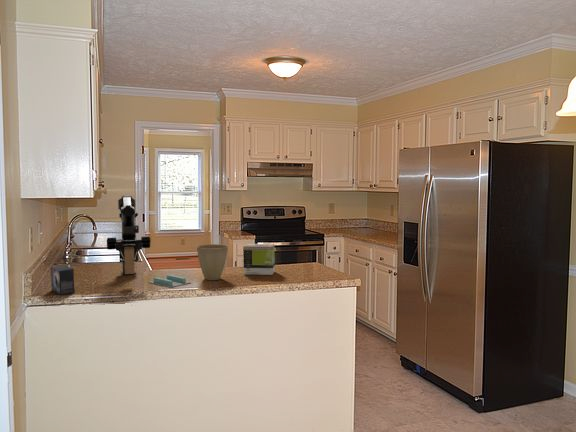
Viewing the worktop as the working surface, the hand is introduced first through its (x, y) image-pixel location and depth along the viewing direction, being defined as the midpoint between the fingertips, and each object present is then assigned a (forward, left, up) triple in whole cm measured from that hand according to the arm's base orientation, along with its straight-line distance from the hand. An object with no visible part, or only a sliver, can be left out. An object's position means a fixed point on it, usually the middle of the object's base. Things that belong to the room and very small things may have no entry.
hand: (129, 258), depth 215 cm
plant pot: (-1, +39, -14) cm, 41 cm away
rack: (-1, +18, -13) cm, 23 cm away
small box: (-5, -27, -14) cm, 31 cm away
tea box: (-3, +65, -14) cm, 67 cm away
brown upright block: (-1, 0, -7) cm, 7 cm away
